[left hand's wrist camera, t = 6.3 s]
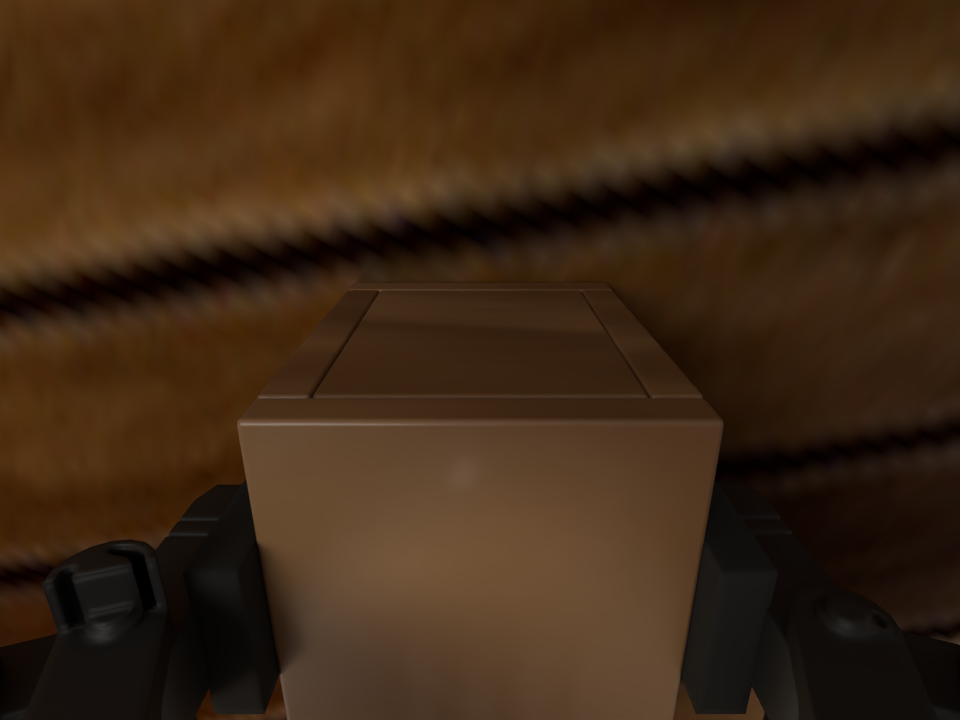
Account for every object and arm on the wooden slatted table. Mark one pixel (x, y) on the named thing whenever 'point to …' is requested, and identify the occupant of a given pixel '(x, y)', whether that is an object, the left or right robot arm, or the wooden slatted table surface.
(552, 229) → the wooden slatted table surface
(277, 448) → the cabinet
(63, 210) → the wooden slatted table surface
